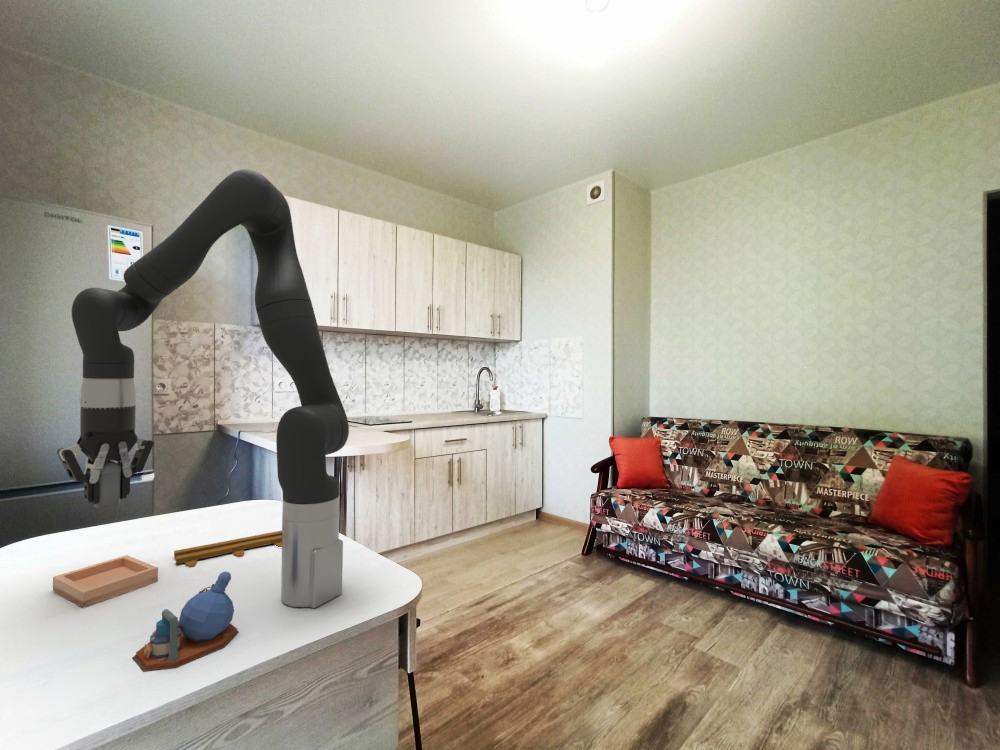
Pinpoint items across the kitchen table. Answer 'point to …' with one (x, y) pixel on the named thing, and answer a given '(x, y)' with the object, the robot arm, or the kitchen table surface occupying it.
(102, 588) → the dish
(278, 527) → the kitchen table surface
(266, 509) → the kitchen table surface
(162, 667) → the model
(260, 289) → the robot arm
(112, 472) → the plug
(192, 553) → the decorative fence
